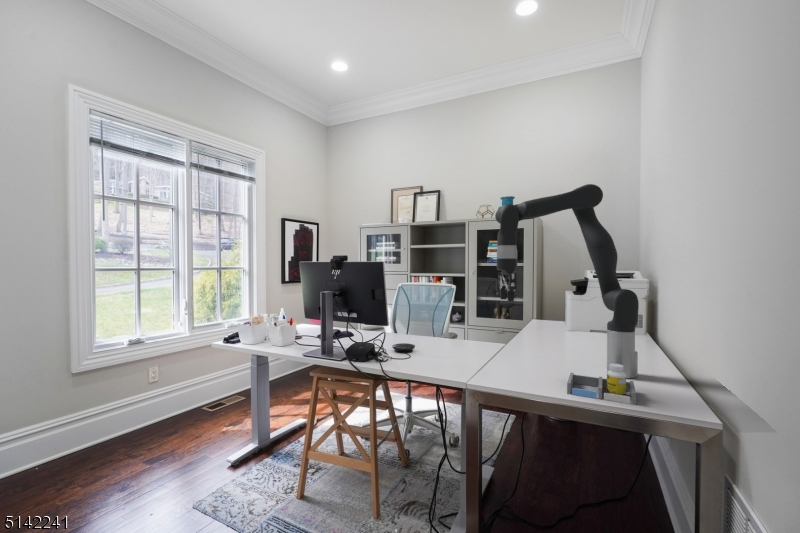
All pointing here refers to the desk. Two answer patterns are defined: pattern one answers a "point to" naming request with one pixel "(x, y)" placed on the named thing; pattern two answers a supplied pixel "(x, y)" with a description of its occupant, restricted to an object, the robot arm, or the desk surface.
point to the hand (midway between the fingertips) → (506, 300)
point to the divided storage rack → (599, 389)
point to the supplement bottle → (616, 380)
